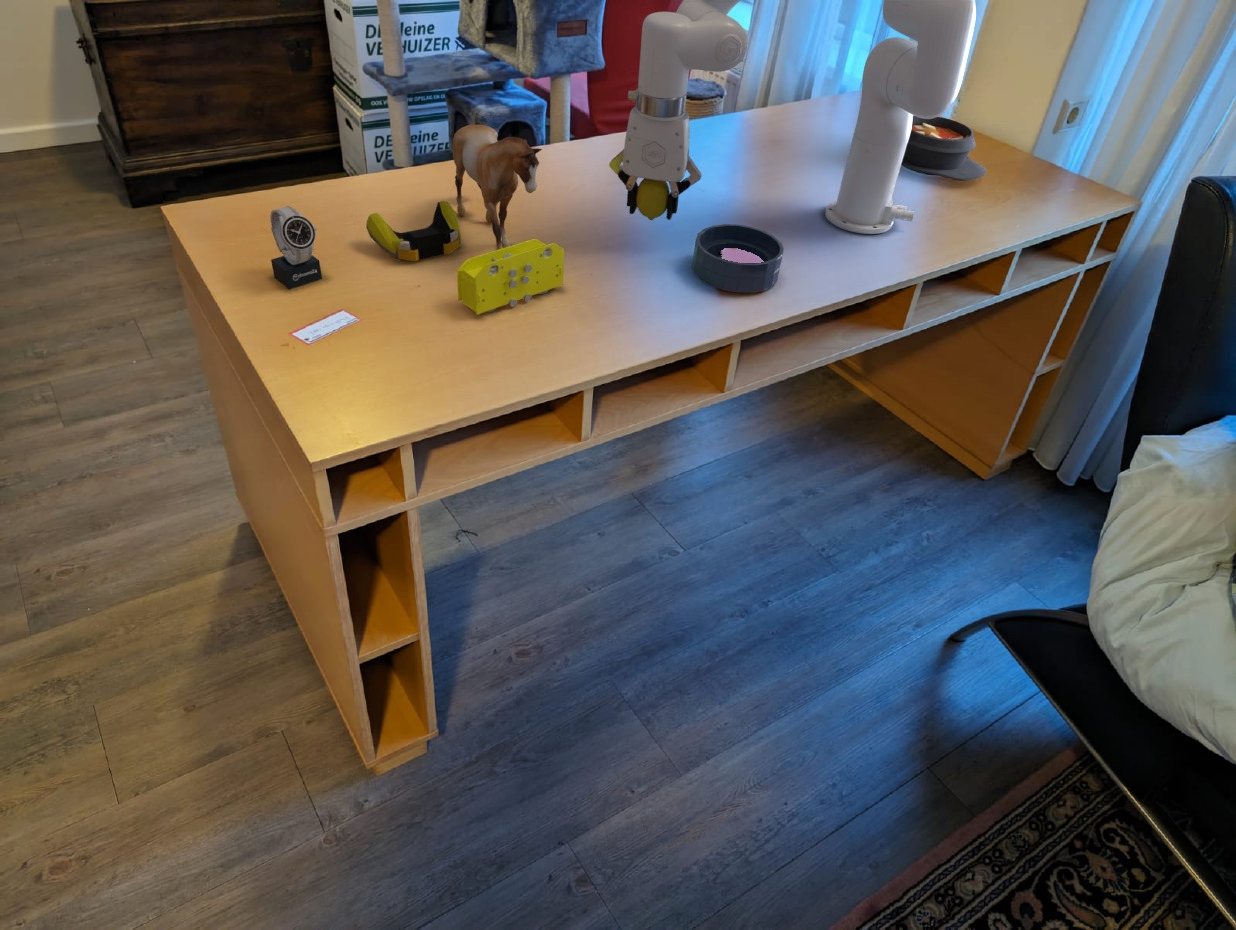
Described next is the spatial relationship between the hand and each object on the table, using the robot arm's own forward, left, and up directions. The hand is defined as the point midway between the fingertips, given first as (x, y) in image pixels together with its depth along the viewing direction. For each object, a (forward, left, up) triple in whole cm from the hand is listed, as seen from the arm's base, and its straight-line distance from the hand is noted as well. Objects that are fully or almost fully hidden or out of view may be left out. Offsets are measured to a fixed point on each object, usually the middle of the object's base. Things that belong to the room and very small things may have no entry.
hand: (651, 212), depth 146 cm
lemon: (0, 0, -2) cm, 2 cm away
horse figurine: (+24, +4, -6) cm, 26 cm away
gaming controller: (+35, +14, -6) cm, 39 cm away
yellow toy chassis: (+16, +24, -6) cm, 30 cm away
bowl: (-16, +4, -6) cm, 17 cm away
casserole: (-50, -60, -6) cm, 78 cm away
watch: (+48, +30, -6) cm, 57 cm away
